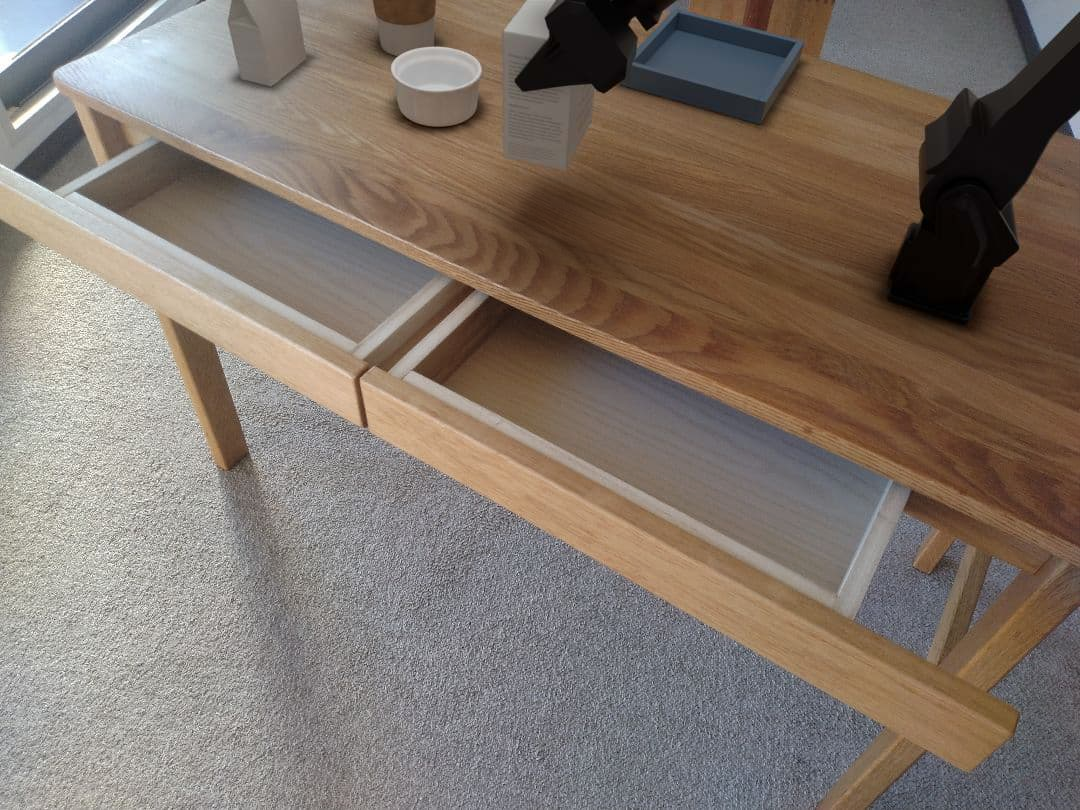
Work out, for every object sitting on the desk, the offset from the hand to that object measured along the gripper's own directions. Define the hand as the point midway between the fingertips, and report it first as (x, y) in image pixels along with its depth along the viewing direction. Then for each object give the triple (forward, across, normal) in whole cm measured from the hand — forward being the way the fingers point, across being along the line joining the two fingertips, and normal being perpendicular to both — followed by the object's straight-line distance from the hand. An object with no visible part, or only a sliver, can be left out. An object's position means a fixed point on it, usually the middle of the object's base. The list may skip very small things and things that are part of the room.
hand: (534, 60), depth 65 cm
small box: (+4, 0, +6) cm, 7 cm away
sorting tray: (+1, -30, +18) cm, 35 cm away
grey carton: (+32, -14, -14) cm, 38 cm away
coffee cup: (+25, -24, -6) cm, 35 cm away
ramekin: (+19, -13, 0) cm, 23 cm away
